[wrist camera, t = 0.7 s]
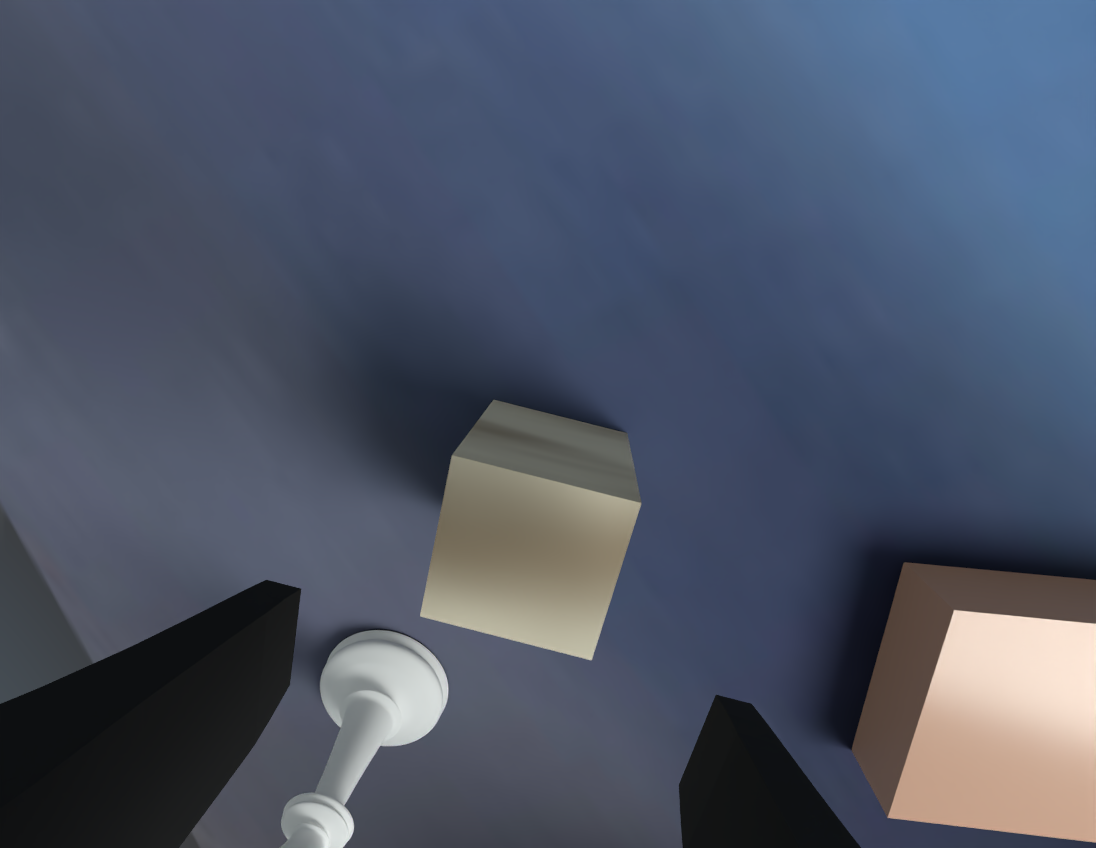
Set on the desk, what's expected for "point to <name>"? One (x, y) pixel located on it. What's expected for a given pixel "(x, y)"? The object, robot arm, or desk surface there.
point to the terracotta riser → (985, 703)
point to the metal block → (533, 529)
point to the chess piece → (365, 725)
